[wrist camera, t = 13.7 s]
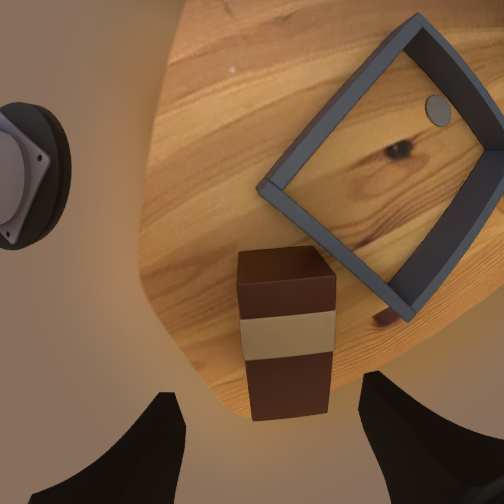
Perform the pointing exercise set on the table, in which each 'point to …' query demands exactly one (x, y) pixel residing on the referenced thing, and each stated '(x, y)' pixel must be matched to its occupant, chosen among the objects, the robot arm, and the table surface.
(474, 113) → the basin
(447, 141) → the table surface
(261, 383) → the brown tan banded block
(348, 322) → the table surface
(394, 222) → the table surface
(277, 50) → the table surface
